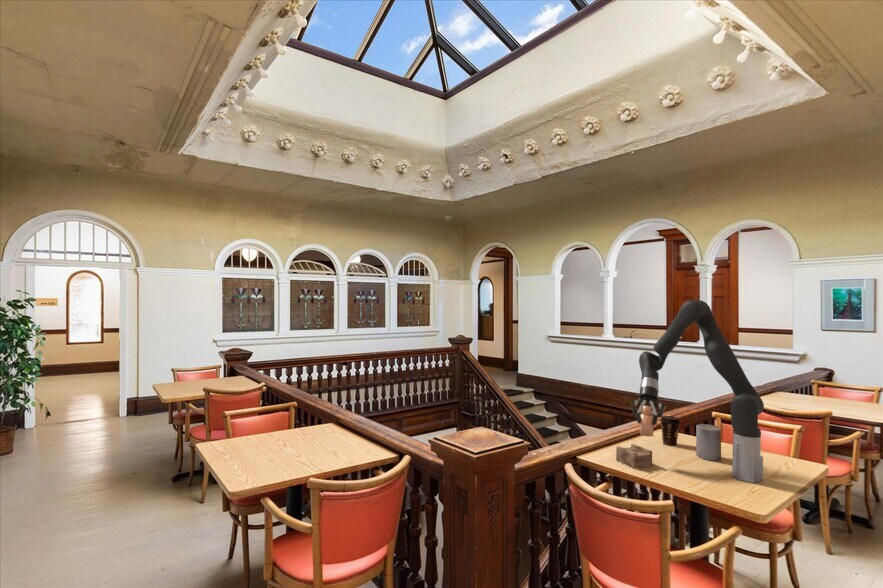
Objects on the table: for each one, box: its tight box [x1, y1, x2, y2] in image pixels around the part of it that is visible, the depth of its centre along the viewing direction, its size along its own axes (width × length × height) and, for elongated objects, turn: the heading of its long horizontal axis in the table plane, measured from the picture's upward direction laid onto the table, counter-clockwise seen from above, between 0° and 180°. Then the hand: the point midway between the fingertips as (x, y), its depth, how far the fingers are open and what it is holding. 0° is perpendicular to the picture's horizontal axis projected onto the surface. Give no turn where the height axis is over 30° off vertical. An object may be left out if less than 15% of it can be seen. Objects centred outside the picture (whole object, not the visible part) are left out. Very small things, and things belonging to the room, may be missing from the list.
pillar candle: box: [695, 423, 722, 462], centre depth 205 cm, size 10×10×15 cm
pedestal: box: [615, 443, 653, 469], centre depth 196 cm, size 10×10×6 cm
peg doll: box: [639, 406, 654, 437], centre depth 196 cm, size 5×5×12 cm
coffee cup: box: [659, 415, 681, 447], centre depth 224 cm, size 9×8×13 cm
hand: (646, 423), depth 195 cm, fingers closed on peg doll, 5 cm apart
